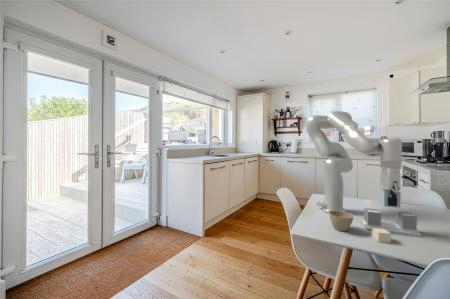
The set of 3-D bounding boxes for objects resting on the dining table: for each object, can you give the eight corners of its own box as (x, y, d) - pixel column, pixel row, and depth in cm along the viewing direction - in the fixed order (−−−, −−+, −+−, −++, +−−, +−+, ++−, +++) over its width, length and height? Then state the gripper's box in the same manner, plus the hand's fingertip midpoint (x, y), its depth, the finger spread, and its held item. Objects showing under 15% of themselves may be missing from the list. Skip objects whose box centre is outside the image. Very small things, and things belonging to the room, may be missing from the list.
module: (384, 206, 92) (384, 191, 92) (380, 203, 97) (380, 189, 96) (400, 207, 90) (400, 192, 90) (395, 204, 95) (396, 190, 94)
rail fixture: (366, 230, 93) (366, 212, 93) (360, 222, 102) (361, 206, 101) (421, 237, 87) (421, 218, 86) (410, 228, 95) (410, 211, 95)
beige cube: (378, 242, 83) (378, 232, 82) (372, 237, 87) (372, 228, 87) (390, 243, 82) (391, 233, 82) (384, 238, 86) (384, 228, 86)
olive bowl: (353, 235, 88) (353, 219, 88) (327, 230, 93) (327, 215, 93) (353, 227, 96) (353, 212, 96) (329, 223, 102) (329, 209, 101)
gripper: (374, 163, 102) (373, 198, 103) (388, 166, 86) (387, 208, 87) (392, 163, 100) (391, 200, 100) (410, 167, 84) (409, 210, 84)
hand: (389, 203), depth 93 cm, fingers closed on module, 4 cm apart
